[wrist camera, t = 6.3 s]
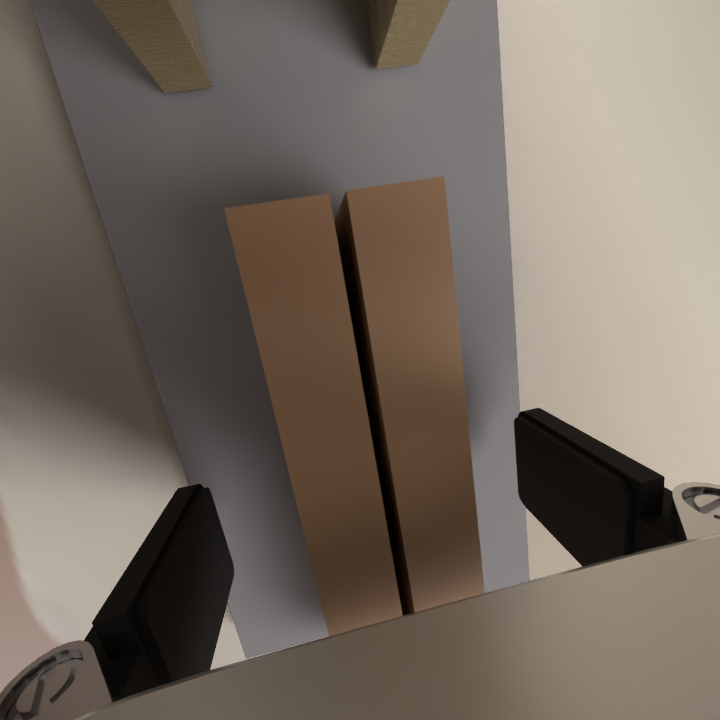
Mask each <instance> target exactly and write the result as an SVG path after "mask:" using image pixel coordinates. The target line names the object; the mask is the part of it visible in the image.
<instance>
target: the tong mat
mask: <svg viewBox="0 0 720 720" xmlns="http://www.w3.org/2000/svg"><path fill="white" fill-rule="evenodd" d="M30 3H31V6H32V9H33V12H34V16H35V19H36V22H37V25H38V28H39V31H40V34H41V37H42V40H43V43H44V46H45V49H46V52H47V55H48V58H49V61H50V64H51V67H52V70H53V73H54V76H55V79H56V82H57V85H58V88H59V92H60V95H61V98H62V101H63V104H64V107H65V110H66V113H67V116H68V119H69V122H70V125H71V128H72V131H73V134H74V137H75V140H76V143H77V146H78V149H79V152H80V155H81V158H82V161H83V165H84V168H85V171H86V174H87V177H88V180H89V183H90V186H91V189H92V192H93V195H94V198H95V201H96V204H97V207H98V210H99V213H100V216H101V219H102V222H103V225H104V228H105V231H106V234H107V237H108V241H109V244H110V247H111V250H112V253H113V256H114V259H115V262H116V265H117V268H118V271H119V274H120V277H121V280H122V283H123V286H124V289H125V292H126V295H127V298H128V301H129V304H130V307H131V310H132V313H133V317H134V320H135V323H136V326H137V329H138V332H139V335H140V338H141V341H142V344H143V347H144V350H145V353H146V356H147V359H148V362H149V365H150V368H151V371H152V374H153V377H154V380H155V383H156V386H157V389H158V393H159V396H160V399H161V402H162V405H163V408H164V411H165V414H166V417H167V420H168V423H169V426H170V429H171V432H172V435H173V438H174V441H175V444H176V447H177V450H178V453H179V456H180V459H181V462H182V465H183V469H184V472H185V475H186V478H187V481H188V484H189V486H191V485H196V484H201V485H202V486H203V487H204V488H206V487H208V488H209V489H210V491H211V494H212V497H213V500H214V503H215V506H216V510H217V513H218V516H219V519H220V522H221V526H222V529H223V532H224V535H225V538H226V542H227V545H228V548H229V551H230V554H231V558H232V561H233V565H234V578H233V582H232V586H231V590H230V594H229V598H228V605H229V608H230V611H231V614H232V618H233V621H234V624H235V627H236V630H237V633H238V636H239V639H240V642H241V645H242V648H243V651H244V654H245V657H246V659H247V658H250V657H254V656H257V655H261V654H265V653H268V652H272V651H276V650H279V649H283V648H286V647H290V646H294V645H297V644H301V643H304V642H308V641H312V640H315V639H319V638H323V637H326V636H329V634H328V630H327V626H326V622H325V618H324V613H323V609H322V605H321V601H320V597H319V593H318V589H317V585H316V581H315V577H314V573H313V569H312V565H311V560H310V556H309V552H308V548H307V544H306V540H305V536H304V532H303V528H302V524H301V520H300V516H299V512H298V507H297V503H296V499H295V495H294V491H293V487H292V483H291V479H290V475H289V471H288V467H287V463H286V458H285V454H284V450H283V446H282V442H281V438H280V434H279V430H278V426H277V422H276V418H275V414H274V410H273V405H272V401H271V397H270V393H269V389H268V385H267V381H266V377H265V373H264V369H263V365H262V361H261V356H260V352H259V348H258V344H257V340H256V336H255V332H254V328H253V324H252V320H251V316H250V312H249V308H248V303H247V299H246V295H245V291H244V287H243V283H242V279H241V275H240V271H239V267H238V263H237V259H236V255H235V250H234V246H233V242H232V238H231V234H230V230H229V226H228V222H227V218H226V214H225V210H224V209H225V208H232V207H238V206H245V205H252V204H259V203H265V202H272V201H279V200H286V199H293V198H299V197H306V196H313V195H320V194H326V193H329V194H330V200H331V206H332V212H333V217H334V220H335V218H336V215H337V213H338V210H339V208H340V205H341V203H342V200H343V198H344V195H345V193H346V191H347V190H354V189H360V188H367V187H374V186H381V185H387V184H394V183H401V182H408V181H415V180H421V179H428V178H435V177H442V176H444V178H445V188H446V199H447V209H448V219H449V230H450V240H451V250H452V261H453V271H454V281H455V291H456V302H457V312H458V322H459V333H460V343H461V353H462V364H463V374H464V384H465V395H466V405H467V415H468V425H469V436H470V446H471V456H472V467H473V477H474V487H475V498H476V508H477V518H478V529H479V539H480V549H481V559H482V570H483V580H484V590H485V593H486V592H489V591H493V590H496V589H500V588H504V587H507V586H511V585H515V584H518V583H522V582H525V581H529V580H530V579H529V562H528V544H527V526H526V508H525V506H524V505H523V503H522V502H521V500H520V497H519V494H518V482H517V466H516V450H515V434H514V419H515V418H517V417H518V414H519V413H520V402H519V384H518V367H517V349H516V331H515V314H514V296H513V278H512V260H511V243H510V225H509V207H508V190H507V172H506V154H505V136H504V119H503V101H502V83H501V66H500V48H499V30H498V12H497V0H450V2H449V4H448V6H447V8H446V10H445V12H444V14H443V16H442V18H441V20H440V22H439V24H438V26H437V28H436V30H435V32H434V34H433V36H432V38H431V40H430V42H429V44H428V46H427V48H426V50H425V52H424V54H423V56H422V58H421V60H420V62H419V64H418V65H409V66H400V67H391V68H382V69H376V65H375V57H374V49H373V42H372V34H371V27H370V19H369V12H368V4H367V0H192V3H193V7H194V12H195V16H196V20H197V24H198V29H199V33H200V37H201V41H202V46H203V50H204V54H205V58H206V63H207V67H208V71H209V76H210V80H211V84H212V88H206V89H197V90H188V91H179V92H170V93H164V91H163V90H162V89H161V87H160V86H159V85H158V83H157V82H156V81H155V80H154V78H153V77H152V76H151V74H150V73H149V72H148V70H147V69H146V68H145V67H144V65H143V64H142V63H141V61H140V60H139V59H138V57H137V56H136V55H135V54H134V52H133V51H132V50H131V48H130V47H129V46H128V44H127V43H126V42H125V41H124V39H123V38H122V37H121V35H120V34H119V33H118V31H117V30H116V29H115V28H114V26H113V25H112V24H111V22H110V21H109V20H108V18H107V17H106V16H105V15H104V13H103V12H102V11H101V9H100V8H99V7H98V5H97V4H96V3H95V2H94V0H30Z"/></svg>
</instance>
